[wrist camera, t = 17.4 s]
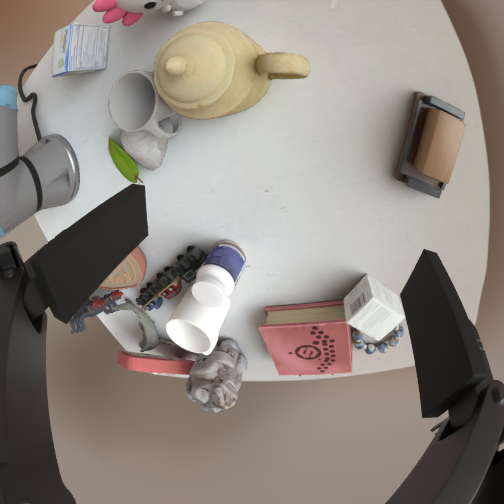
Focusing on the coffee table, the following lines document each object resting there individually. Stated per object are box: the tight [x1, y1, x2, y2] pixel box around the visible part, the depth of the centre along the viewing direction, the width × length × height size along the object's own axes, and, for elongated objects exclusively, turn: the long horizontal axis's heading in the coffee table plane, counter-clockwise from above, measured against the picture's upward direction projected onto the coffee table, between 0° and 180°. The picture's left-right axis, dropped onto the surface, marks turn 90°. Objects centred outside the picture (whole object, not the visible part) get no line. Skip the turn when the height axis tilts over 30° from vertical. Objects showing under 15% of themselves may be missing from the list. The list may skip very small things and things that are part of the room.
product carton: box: [344, 274, 405, 341], centre depth 38 cm, size 6×6×7 cm
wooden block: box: [413, 108, 465, 184], centre depth 24 cm, size 4×4×8 cm
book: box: [259, 300, 352, 376], centre depth 46 cm, size 14×15×5 cm
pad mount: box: [394, 92, 465, 198], centre depth 25 cm, size 12×7×3 cm, turn 172°
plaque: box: [117, 351, 195, 375], centre depth 58 cm, size 18×4×15 cm
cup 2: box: [166, 285, 230, 355], centre depth 47 cm, size 8×12×10 cm
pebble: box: [120, 125, 167, 171], centre depth 34 cm, size 9×8×5 cm
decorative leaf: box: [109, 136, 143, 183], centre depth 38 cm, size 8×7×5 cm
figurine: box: [185, 340, 248, 412], centre depth 52 cm, size 10×11×15 cm
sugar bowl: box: [154, 22, 310, 120], centre depth 22 cm, size 15×11×15 cm
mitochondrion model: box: [98, 247, 147, 290], centre depth 49 cm, size 23×10×5 cm, turn 103°
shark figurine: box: [111, 299, 173, 352], centre depth 58 cm, size 14×17×8 cm
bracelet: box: [353, 324, 404, 354], centre depth 44 cm, size 10×10×2 cm
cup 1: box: [109, 70, 181, 140], centre depth 29 cm, size 8×10×8 cm
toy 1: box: [69, 290, 123, 334], centre depth 55 cm, size 13×27×18 cm
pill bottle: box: [192, 241, 247, 308], centre depth 40 cm, size 6×6×10 cm
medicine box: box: [52, 23, 110, 77], centre depth 25 cm, size 8×4×9 cm, turn 175°
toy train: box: [136, 246, 207, 311], centre depth 49 cm, size 4×22×5 cm
